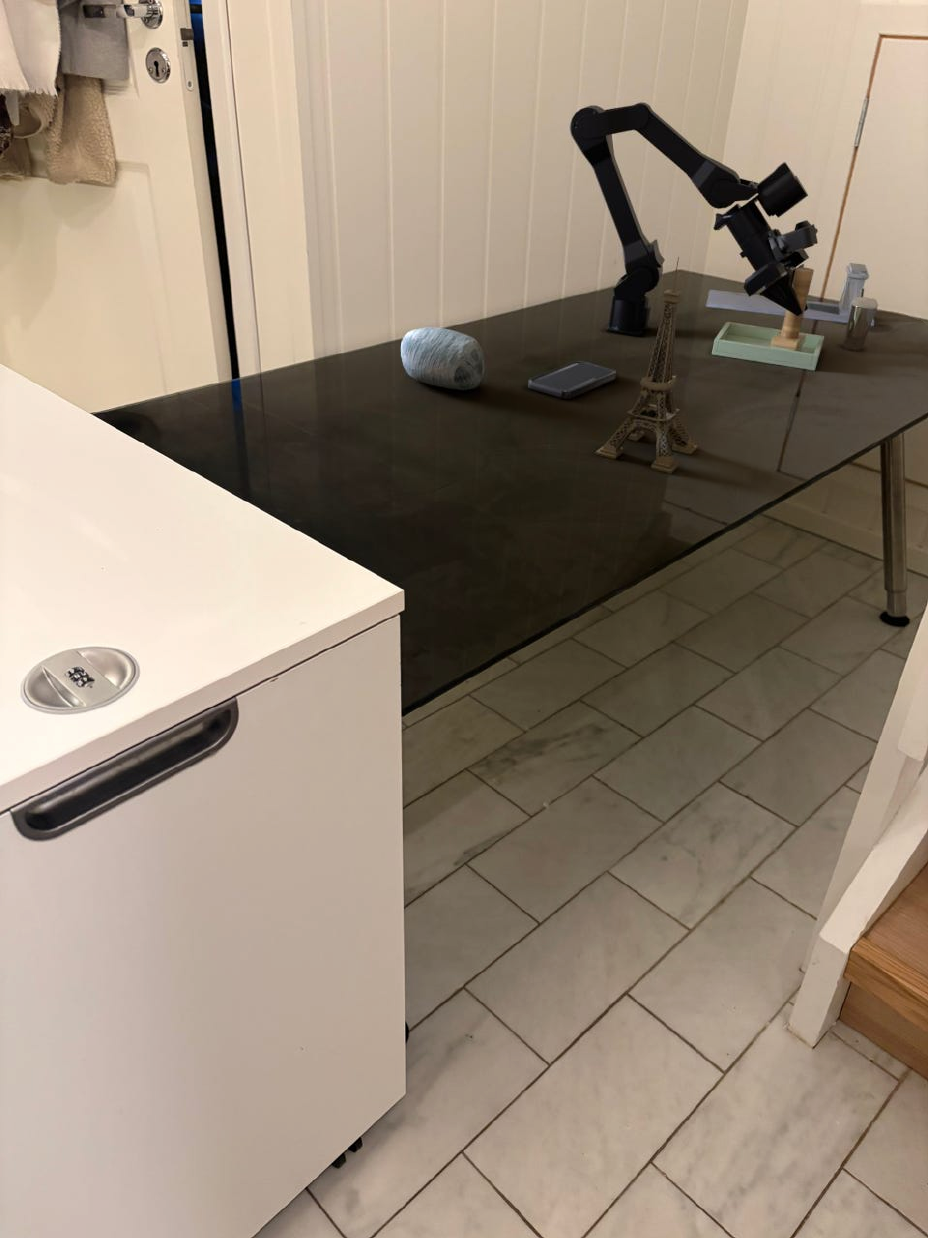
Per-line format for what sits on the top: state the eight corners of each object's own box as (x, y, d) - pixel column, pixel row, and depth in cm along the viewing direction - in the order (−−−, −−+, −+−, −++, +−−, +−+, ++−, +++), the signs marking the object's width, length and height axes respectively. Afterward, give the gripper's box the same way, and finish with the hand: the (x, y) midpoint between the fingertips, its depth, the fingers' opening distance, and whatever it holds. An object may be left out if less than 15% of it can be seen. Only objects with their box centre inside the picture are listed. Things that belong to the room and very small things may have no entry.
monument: (873, 326, 189) (887, 276, 184) (705, 306, 196) (714, 257, 191) (868, 311, 200) (881, 263, 195) (709, 292, 206) (717, 246, 201)
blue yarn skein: (505, 364, 146) (479, 309, 139) (475, 406, 142) (446, 352, 135) (439, 365, 154) (411, 314, 148) (408, 404, 150) (378, 354, 144)
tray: (711, 354, 167) (714, 339, 166) (723, 335, 178) (726, 321, 177) (814, 370, 162) (818, 355, 161) (820, 350, 173) (824, 335, 172)
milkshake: (860, 344, 178) (875, 289, 172) (868, 352, 173) (884, 296, 168) (836, 342, 178) (850, 287, 173) (843, 350, 173) (857, 294, 168)
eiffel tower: (625, 430, 134) (652, 243, 120) (697, 448, 129) (734, 256, 116) (595, 454, 126) (621, 257, 112) (670, 473, 122) (707, 271, 108)
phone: (525, 380, 146) (578, 359, 156) (525, 387, 147) (577, 366, 157) (568, 392, 142) (619, 370, 152) (567, 400, 143) (618, 377, 153)
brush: (793, 357, 166) (813, 274, 158) (768, 352, 168) (787, 269, 160) (802, 349, 170) (822, 268, 163) (778, 344, 172) (796, 264, 165)
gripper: (778, 211, 151) (831, 294, 152) (809, 198, 165) (857, 274, 166) (721, 255, 159) (772, 334, 160) (755, 239, 172) (802, 312, 173)
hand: (803, 312), depth 165 cm, fingers closed on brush, 3 cm apart
